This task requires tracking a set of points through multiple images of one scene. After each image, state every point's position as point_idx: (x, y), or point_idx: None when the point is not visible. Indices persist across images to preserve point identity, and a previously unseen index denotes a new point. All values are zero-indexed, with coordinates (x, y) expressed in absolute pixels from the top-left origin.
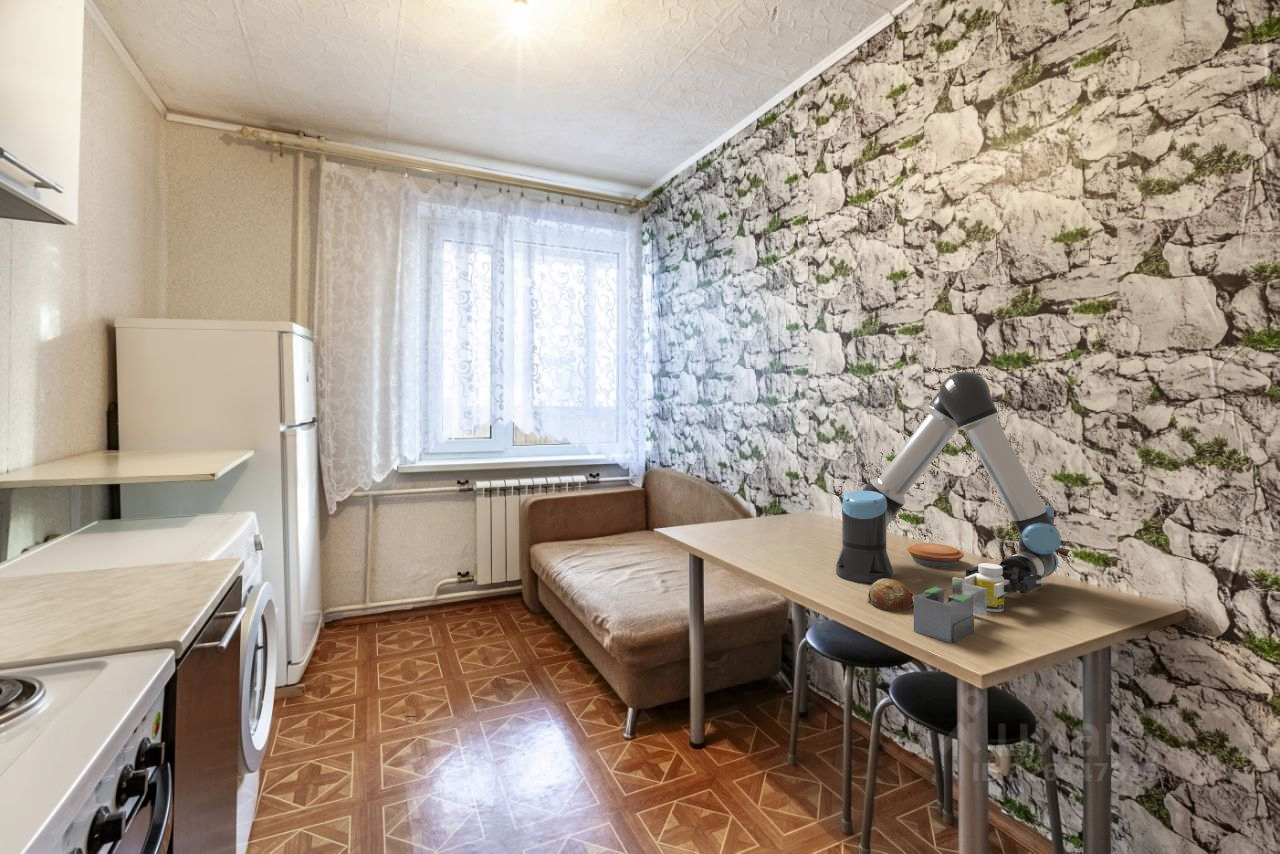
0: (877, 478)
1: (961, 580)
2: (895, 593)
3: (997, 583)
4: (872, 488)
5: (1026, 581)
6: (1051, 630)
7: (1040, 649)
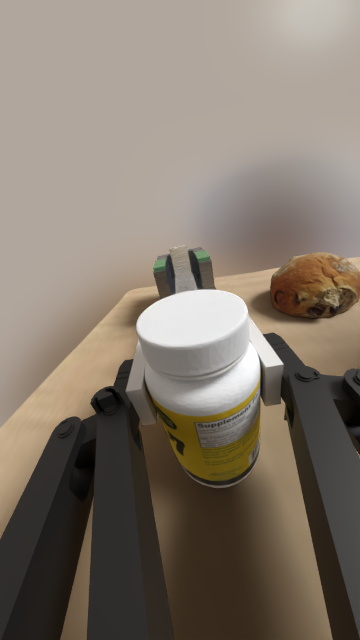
0: None
1: (170, 248)
2: (278, 270)
3: None
4: None
5: (43, 467)
6: (58, 419)
7: (88, 341)
